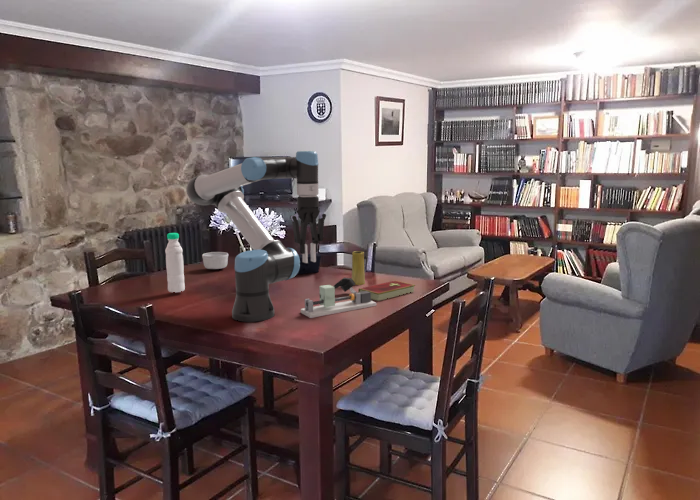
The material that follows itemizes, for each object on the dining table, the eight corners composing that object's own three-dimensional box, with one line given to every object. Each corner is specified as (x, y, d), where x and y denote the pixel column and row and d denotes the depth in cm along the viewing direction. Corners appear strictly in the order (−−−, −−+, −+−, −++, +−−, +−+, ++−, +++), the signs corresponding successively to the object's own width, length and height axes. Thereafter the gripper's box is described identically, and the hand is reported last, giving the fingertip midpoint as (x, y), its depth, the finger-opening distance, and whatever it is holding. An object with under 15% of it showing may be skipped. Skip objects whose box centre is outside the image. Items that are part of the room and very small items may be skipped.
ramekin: (222, 263, 294) (221, 250, 293) (233, 267, 284) (232, 254, 283) (198, 266, 286) (198, 253, 285) (209, 270, 276) (208, 257, 275)
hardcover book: (358, 297, 223) (358, 287, 223) (394, 289, 237) (394, 279, 236) (378, 303, 214) (378, 292, 214) (415, 294, 228) (415, 284, 227)
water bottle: (182, 292, 232) (178, 234, 227) (165, 293, 232) (161, 234, 227) (187, 288, 239) (183, 232, 234) (170, 288, 239) (167, 232, 234)
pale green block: (325, 307, 199) (325, 288, 197) (319, 304, 202) (319, 286, 201) (334, 305, 201) (334, 287, 199) (329, 302, 204) (328, 284, 203)
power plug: (327, 289, 231) (349, 273, 228) (338, 303, 231) (360, 287, 228) (324, 292, 226) (346, 276, 223) (335, 307, 226) (358, 290, 223)
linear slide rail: (310, 318, 194) (310, 303, 193) (300, 312, 201) (300, 298, 200) (376, 306, 208) (376, 292, 207) (365, 301, 215) (365, 288, 214)
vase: (351, 282, 248) (350, 251, 246) (364, 281, 249) (364, 250, 246) (352, 285, 242) (351, 253, 240) (365, 284, 243) (365, 253, 240)
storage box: (310, 267, 282) (309, 248, 281) (321, 273, 268) (321, 253, 266) (271, 271, 274) (270, 252, 272) (280, 278, 259) (280, 257, 258)
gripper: (291, 197, 184) (293, 266, 188) (332, 195, 192) (333, 261, 196) (282, 196, 190) (284, 262, 194) (322, 194, 198) (323, 258, 202)
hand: (309, 261), depth 195 cm, fingers open, 3 cm apart
